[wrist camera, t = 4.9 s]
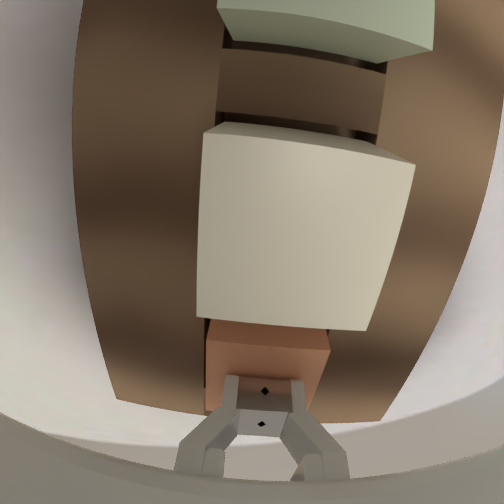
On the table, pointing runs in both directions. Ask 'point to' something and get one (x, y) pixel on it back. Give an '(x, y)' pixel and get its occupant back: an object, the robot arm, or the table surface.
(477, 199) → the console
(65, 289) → the table surface
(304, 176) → the cream cube
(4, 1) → the table surface
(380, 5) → the key sage
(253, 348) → the key terracotta
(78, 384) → the table surface
